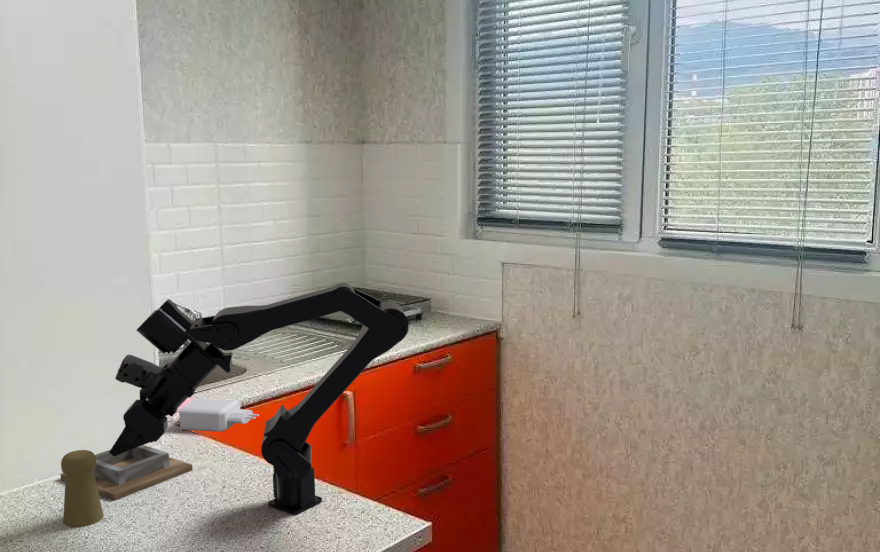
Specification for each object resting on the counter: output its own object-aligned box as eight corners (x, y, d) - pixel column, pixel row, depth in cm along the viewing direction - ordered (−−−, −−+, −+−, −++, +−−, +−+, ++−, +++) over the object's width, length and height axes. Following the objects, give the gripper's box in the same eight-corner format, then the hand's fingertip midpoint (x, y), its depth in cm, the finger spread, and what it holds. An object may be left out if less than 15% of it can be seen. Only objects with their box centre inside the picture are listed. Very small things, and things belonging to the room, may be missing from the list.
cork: (91, 507, 143) (86, 443, 141) (111, 517, 139) (106, 451, 138) (55, 520, 139) (49, 453, 137) (75, 530, 135) (69, 462, 133)
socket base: (192, 469, 159) (191, 451, 158) (114, 500, 146) (113, 480, 145) (138, 452, 168) (137, 434, 167) (60, 479, 155) (59, 460, 154)
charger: (248, 435, 177) (180, 431, 180) (266, 420, 186) (200, 417, 189) (247, 413, 176) (178, 409, 179) (265, 399, 185) (199, 396, 188)
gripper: (157, 325, 145) (92, 393, 145) (134, 353, 127) (60, 430, 127) (208, 369, 147) (144, 436, 148) (193, 403, 129) (120, 478, 129)
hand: (118, 443), depth 138 cm, fingers open, 9 cm apart
